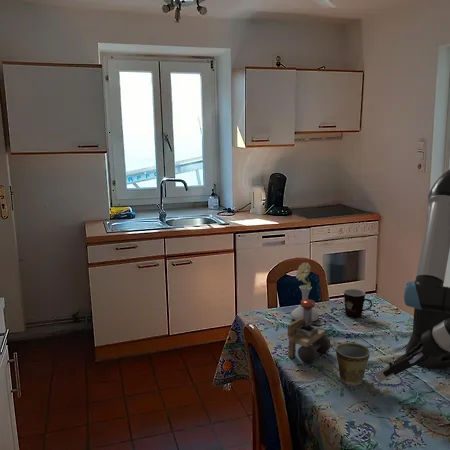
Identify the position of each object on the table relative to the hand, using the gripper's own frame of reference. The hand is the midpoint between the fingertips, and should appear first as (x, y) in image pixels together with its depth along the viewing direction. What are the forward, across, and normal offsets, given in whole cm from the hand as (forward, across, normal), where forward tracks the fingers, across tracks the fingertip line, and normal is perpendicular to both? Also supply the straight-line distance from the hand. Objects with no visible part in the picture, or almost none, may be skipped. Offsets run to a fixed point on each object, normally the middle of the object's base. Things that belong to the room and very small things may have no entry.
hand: (378, 377), depth 137 cm
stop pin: (+16, +5, +23) cm, 28 cm away
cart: (+21, +5, +16) cm, 27 cm away
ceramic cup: (+9, 0, +4) cm, 9 cm away
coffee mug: (+23, +47, +18) cm, 55 cm away
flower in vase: (+33, +30, +28) cm, 53 cm away
